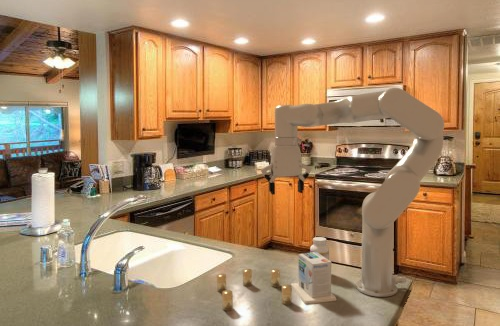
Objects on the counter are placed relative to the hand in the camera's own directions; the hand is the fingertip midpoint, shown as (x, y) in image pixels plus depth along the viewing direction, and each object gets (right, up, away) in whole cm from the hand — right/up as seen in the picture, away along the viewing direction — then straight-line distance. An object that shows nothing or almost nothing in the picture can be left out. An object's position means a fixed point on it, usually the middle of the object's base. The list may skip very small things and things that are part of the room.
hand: (286, 193), depth 136 cm
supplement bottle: (+13, -30, +8) cm, 33 cm away
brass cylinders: (-12, -31, -9) cm, 35 cm away
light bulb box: (+8, -31, -8) cm, 33 cm away
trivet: (+8, -31, -8) cm, 33 cm away
